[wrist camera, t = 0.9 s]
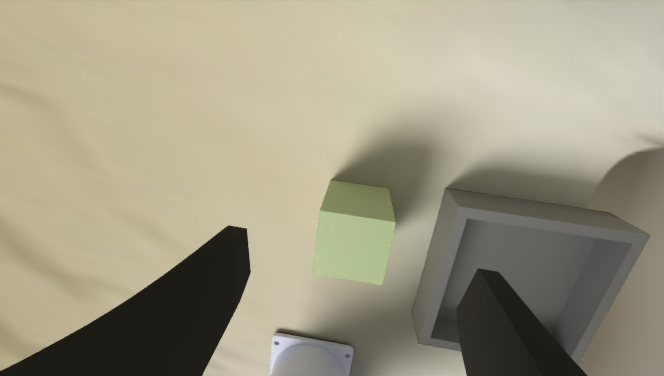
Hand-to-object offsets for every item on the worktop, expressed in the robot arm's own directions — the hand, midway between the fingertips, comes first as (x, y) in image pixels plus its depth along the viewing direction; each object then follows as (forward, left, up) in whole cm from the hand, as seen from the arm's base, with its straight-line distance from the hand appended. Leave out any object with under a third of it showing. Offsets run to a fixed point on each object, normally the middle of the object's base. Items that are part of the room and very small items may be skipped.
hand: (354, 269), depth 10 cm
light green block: (-4, 0, -14) cm, 15 cm away
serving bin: (-7, -13, -14) cm, 20 cm away
